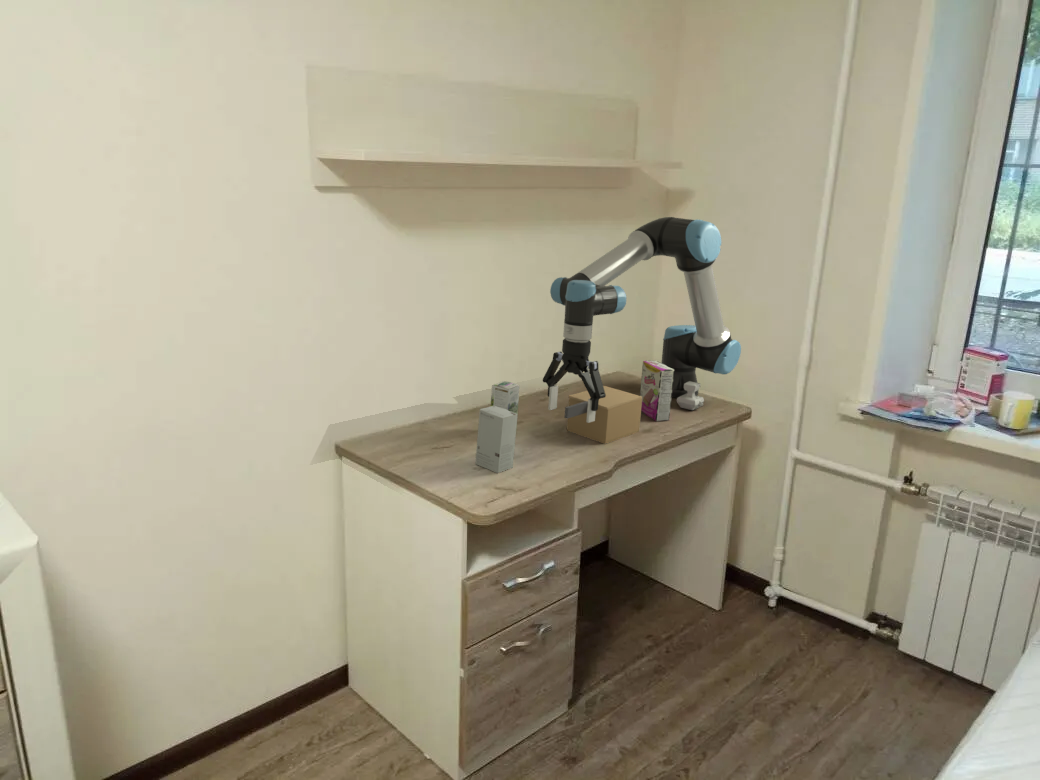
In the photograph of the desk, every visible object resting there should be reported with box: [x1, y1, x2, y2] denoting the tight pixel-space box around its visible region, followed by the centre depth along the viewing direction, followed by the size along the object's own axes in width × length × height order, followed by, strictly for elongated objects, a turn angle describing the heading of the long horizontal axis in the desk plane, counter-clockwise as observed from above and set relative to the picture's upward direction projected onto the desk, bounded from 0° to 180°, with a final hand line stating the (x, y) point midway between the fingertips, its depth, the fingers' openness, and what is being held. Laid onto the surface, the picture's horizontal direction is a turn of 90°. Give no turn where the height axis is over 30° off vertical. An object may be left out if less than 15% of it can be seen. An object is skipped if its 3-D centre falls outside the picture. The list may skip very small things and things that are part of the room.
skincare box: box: [475, 405, 519, 474], centre depth 198 cm, size 8×6×15 cm
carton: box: [566, 397, 642, 445], centre depth 228 cm, size 16×14×10 cm
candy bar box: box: [639, 359, 674, 422], centre depth 243 cm, size 11×5×16 cm, turn 22°
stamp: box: [676, 381, 705, 411], centre depth 254 cm, size 9×7×8 cm
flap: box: [564, 385, 642, 420], centre depth 223 cm, size 25×14×3 cm, turn 136°
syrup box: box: [490, 380, 520, 431], centre depth 221 cm, size 6×6×14 cm
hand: (571, 415), depth 216 cm, fingers open, 13 cm apart
